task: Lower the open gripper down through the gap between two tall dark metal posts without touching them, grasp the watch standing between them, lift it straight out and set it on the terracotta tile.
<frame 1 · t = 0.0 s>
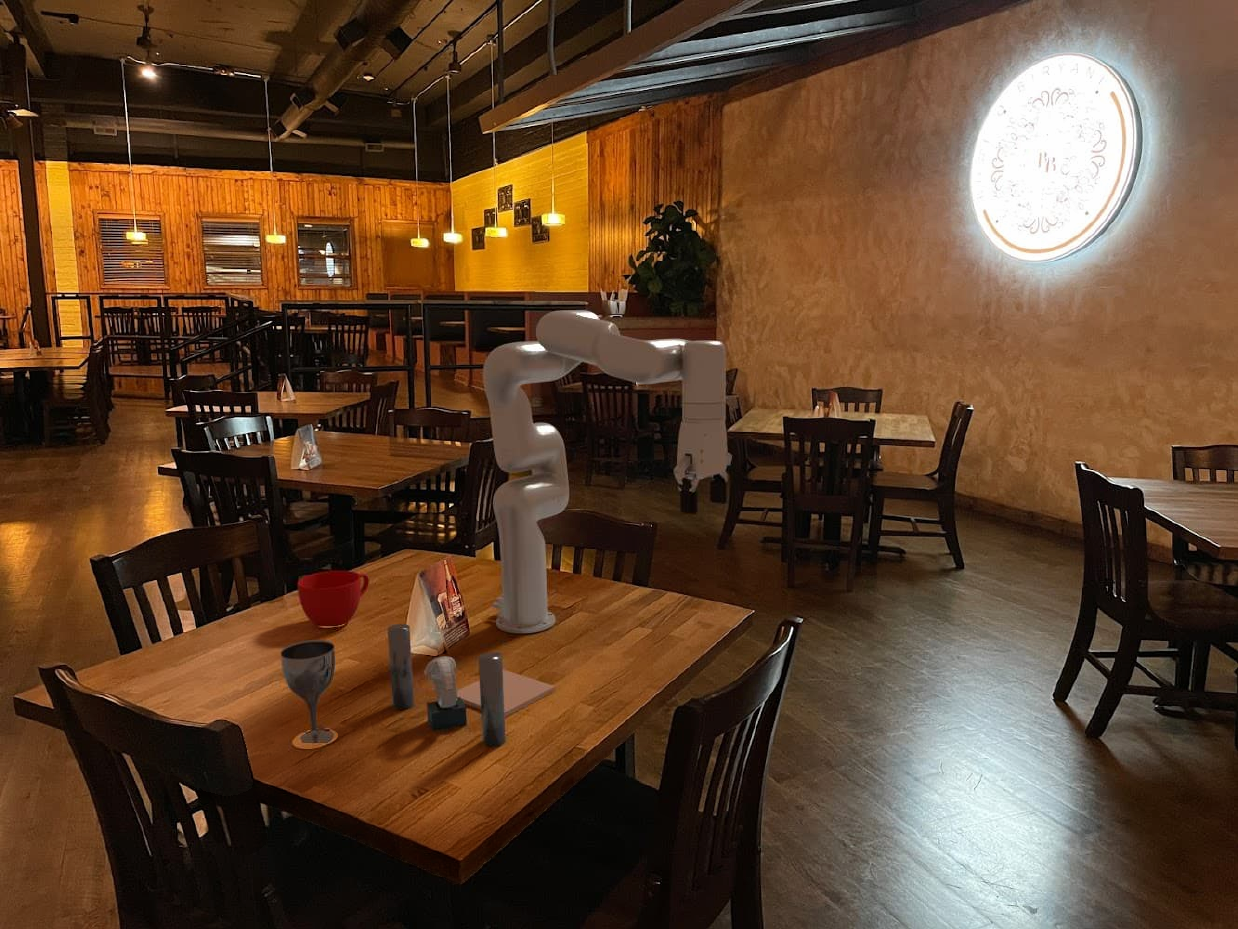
hand: (704, 507, 158), 31 cm above the table, tool pointing down, fingers open, 9 cm apart
ceramic cup: (339, 621, 194), on the table
metal post b: (494, 741, 139), on the table
metal post a: (403, 705, 153), on the table
watch: (446, 723, 146), on the table
terracotta tile: (503, 694, 156), on the table
wine glass: (315, 739, 141), on the table
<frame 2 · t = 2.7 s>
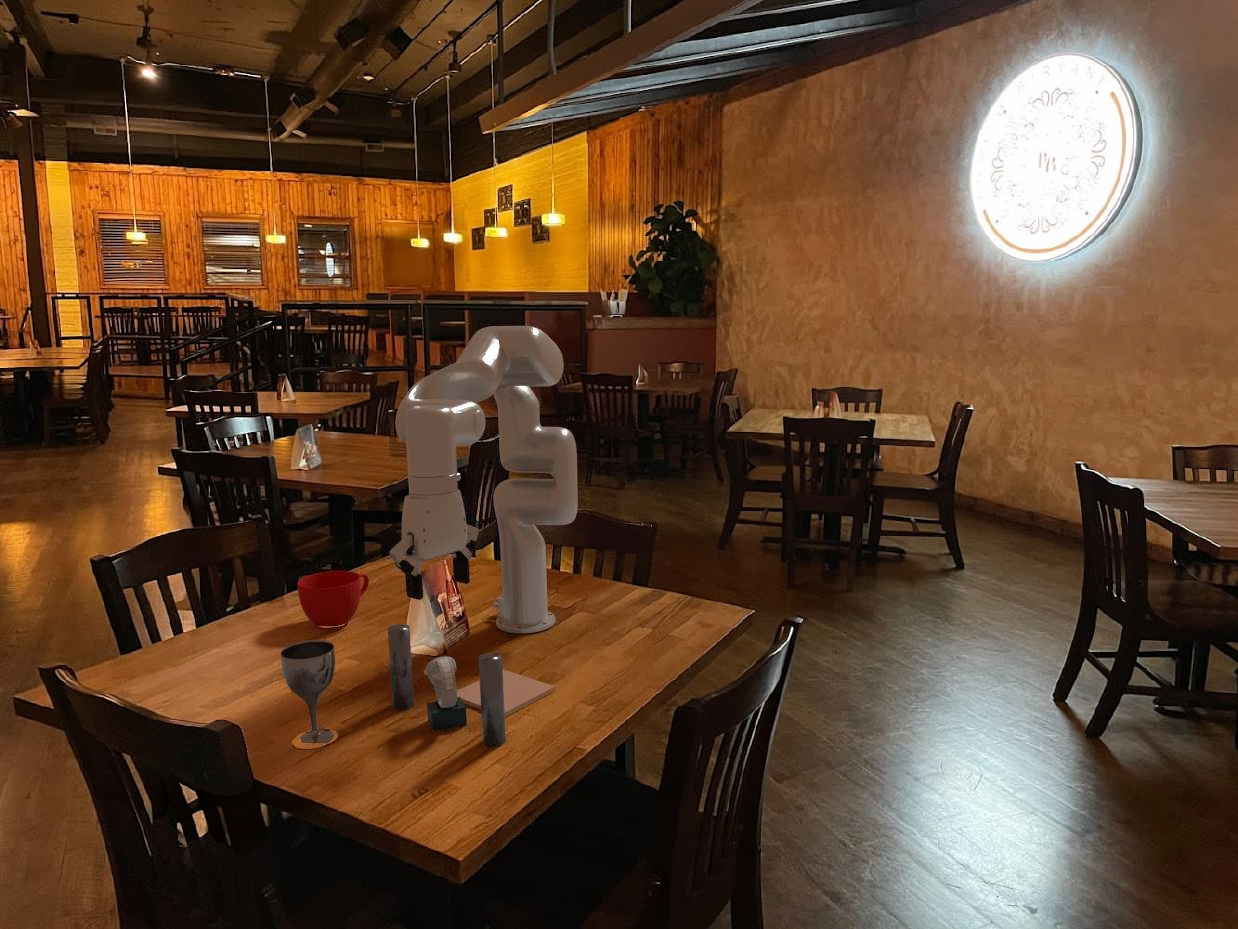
hand: (439, 589, 142), 23 cm above the table, tool pointing down, fingers open, 9 cm apart
nothing on the table moved.
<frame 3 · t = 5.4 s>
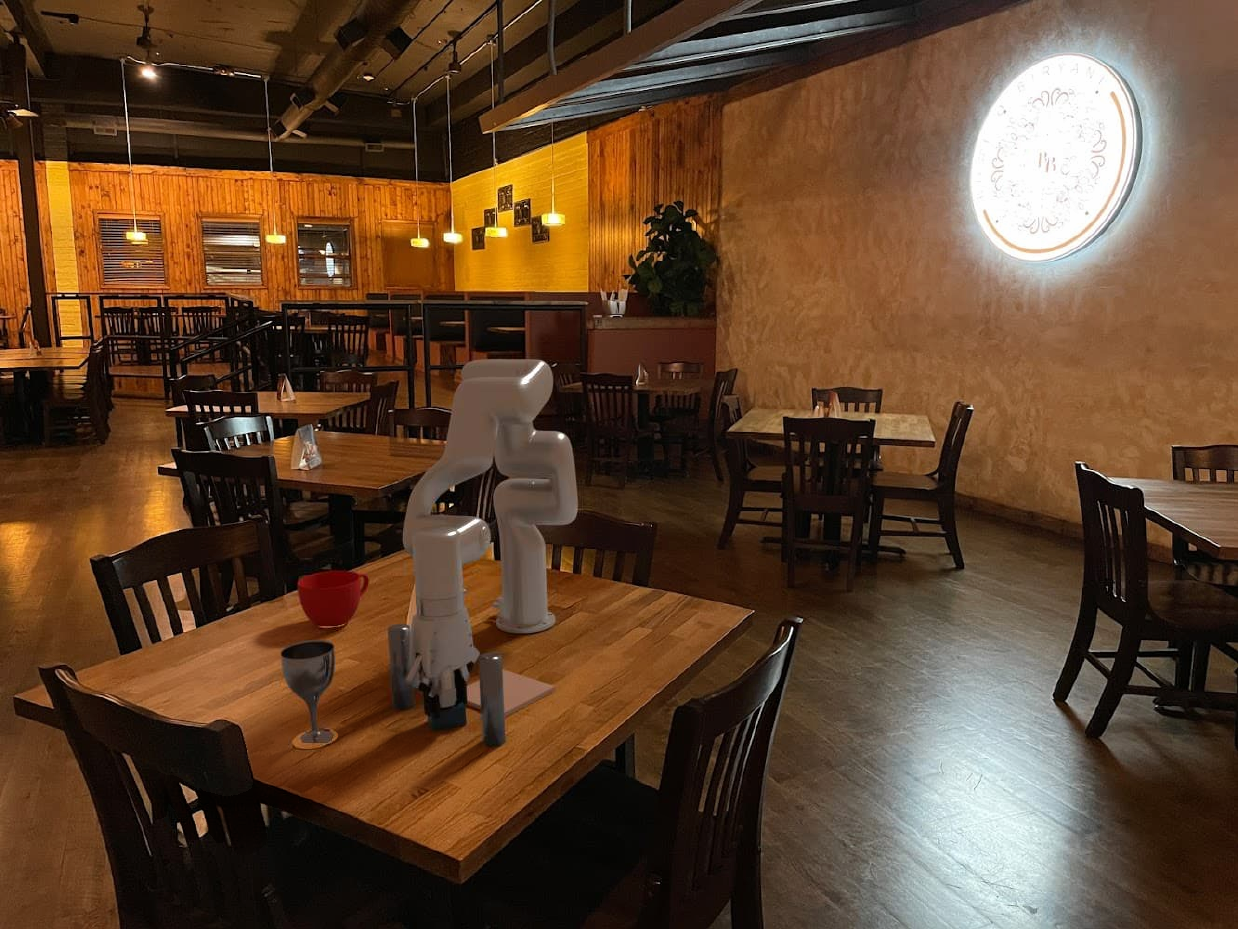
hand: (446, 708, 146), 2 cm above the table, tool pointing down, fingers open, 5 cm apart
watch: (446, 723, 146), on the table, touching gripper
everything else where it was.
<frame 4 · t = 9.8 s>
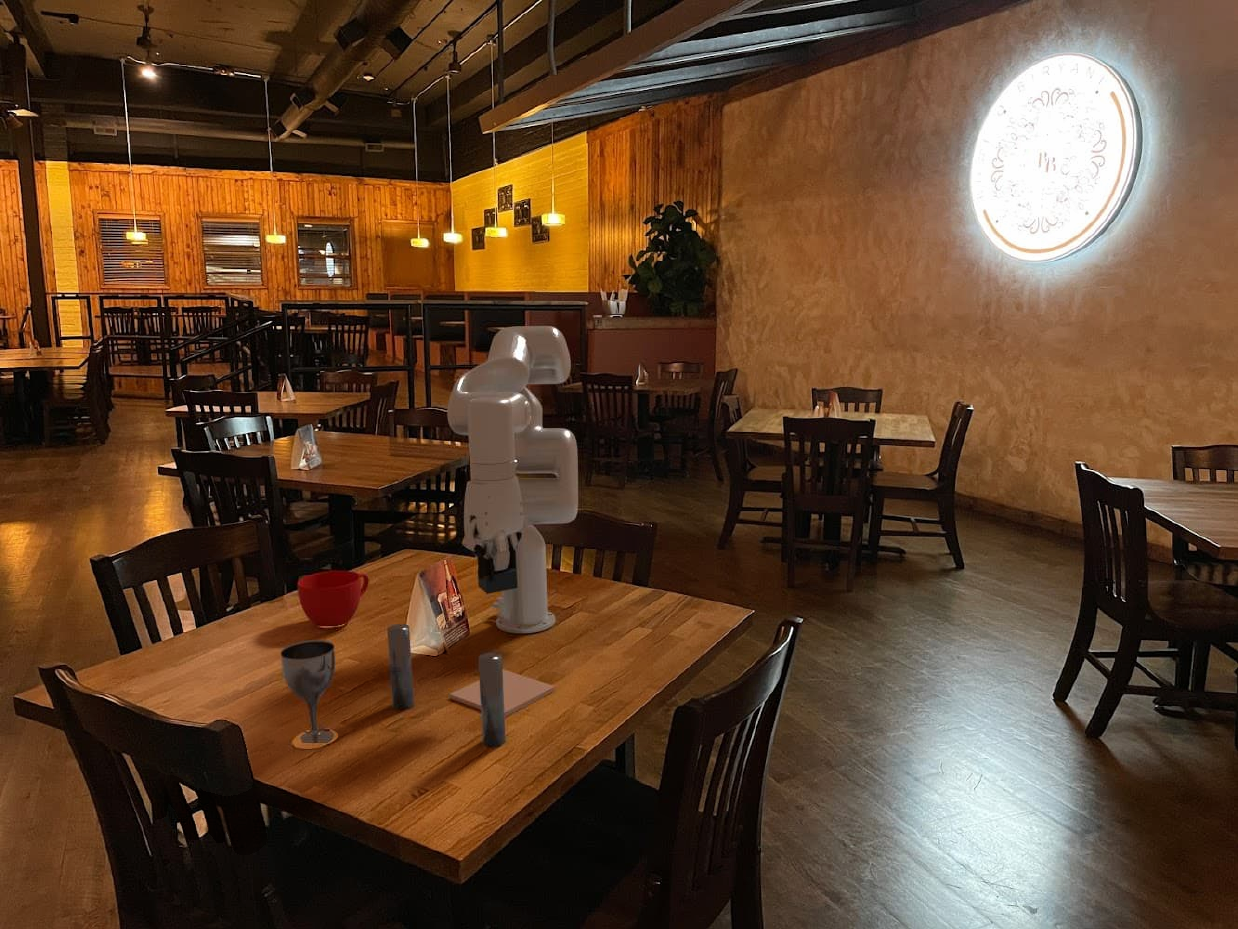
hand: (497, 574, 152), 22 cm above the table, tool pointing down, fingers closed on watch, 4 cm apart
watch: (497, 588, 153), point 19 cm above the table, touching gripper
everything else where it was.
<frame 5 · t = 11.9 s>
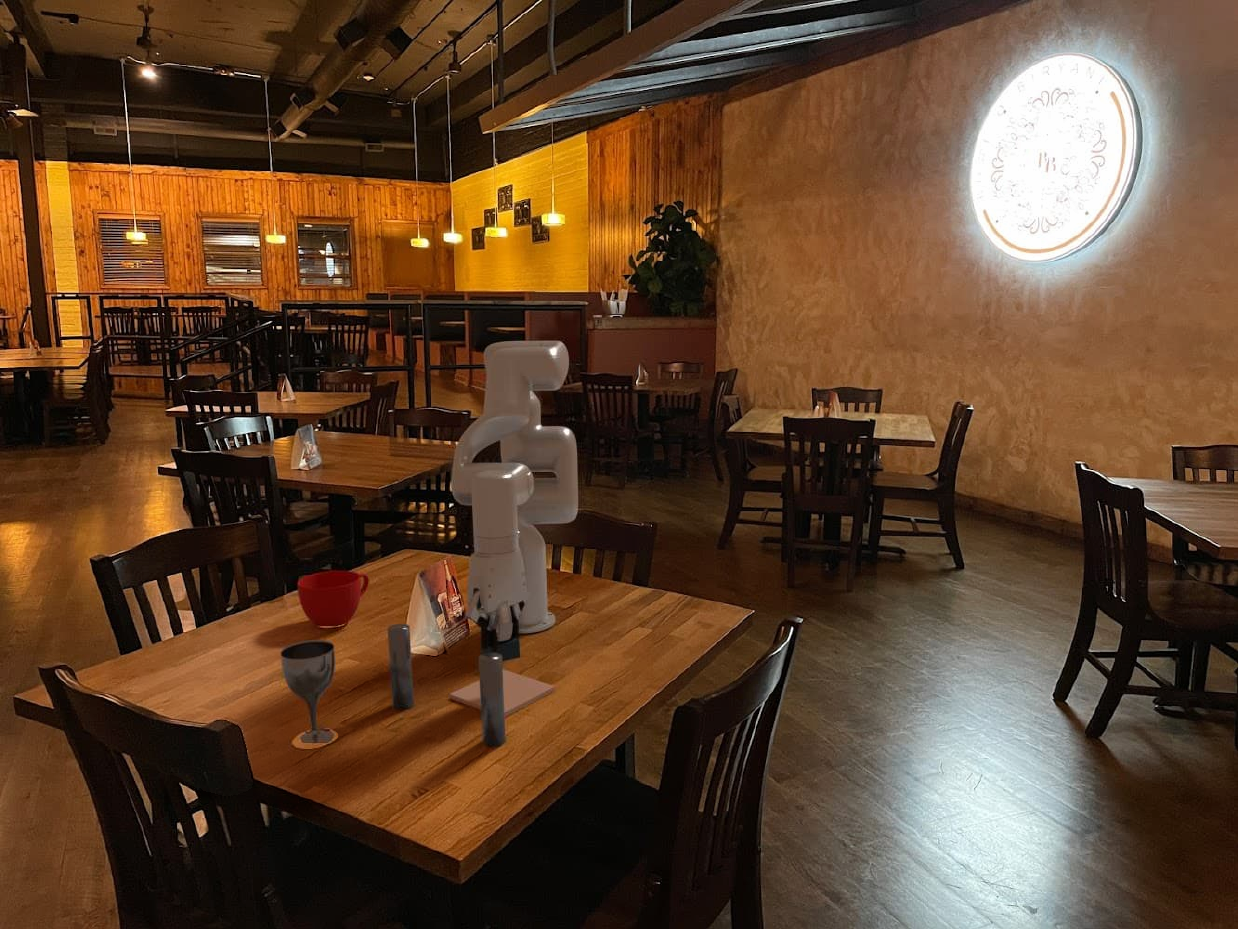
hand: (500, 644, 154), 9 cm above the table, tool pointing down, fingers closed on watch, 4 cm apart
watch: (500, 657, 155), point 7 cm above the table, touching gripper
everything else where it was.
when the fingers open (5 cm above the table, at t = 13.7 s): watch drops 1 cm, resting on terracotta tile.
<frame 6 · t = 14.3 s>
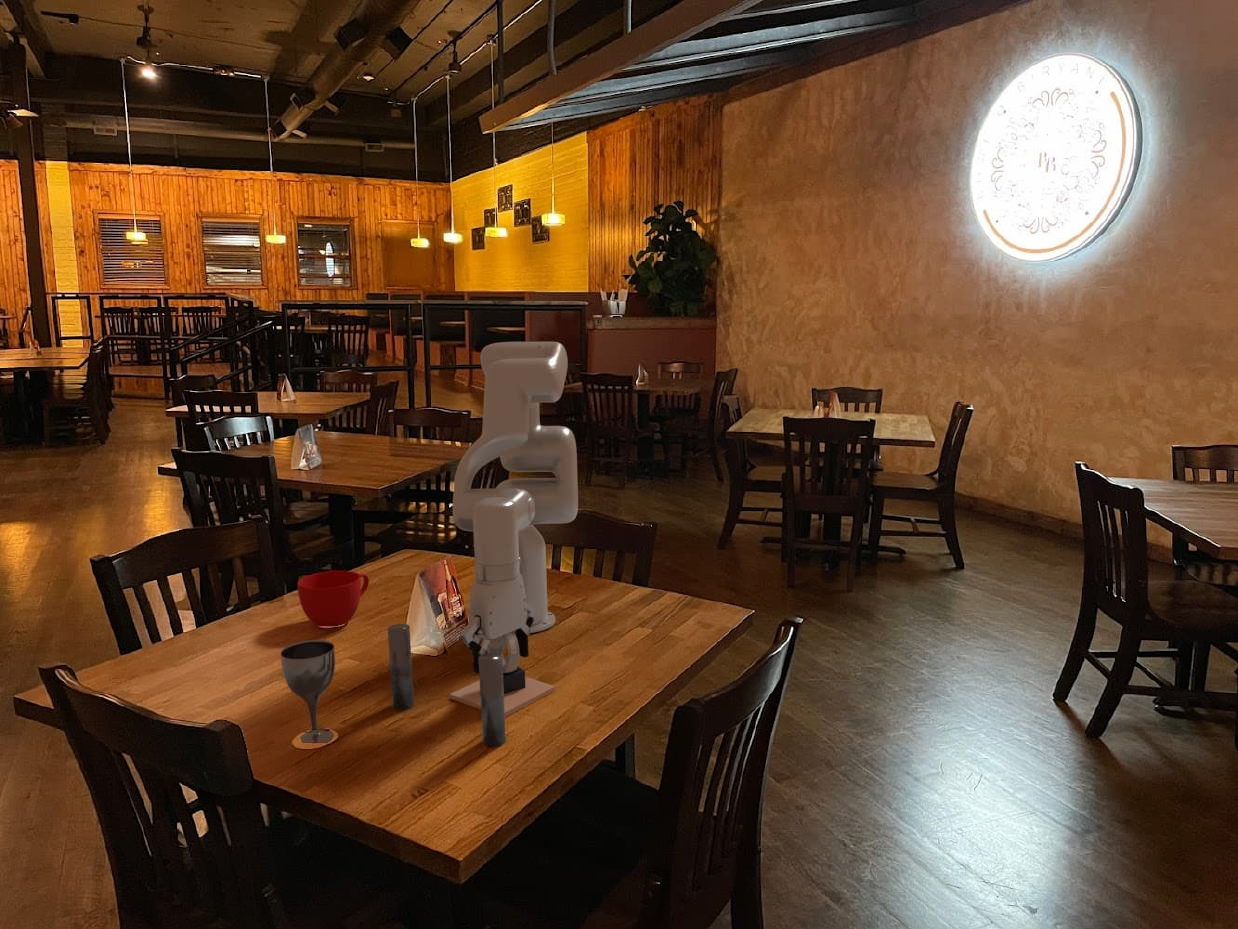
hand: (501, 664, 155), 6 cm above the table, tool pointing down, fingers open, 9 cm apart
watch: (505, 688, 157), point 1 cm above the table, touching terracotta tile
everything else where it was.
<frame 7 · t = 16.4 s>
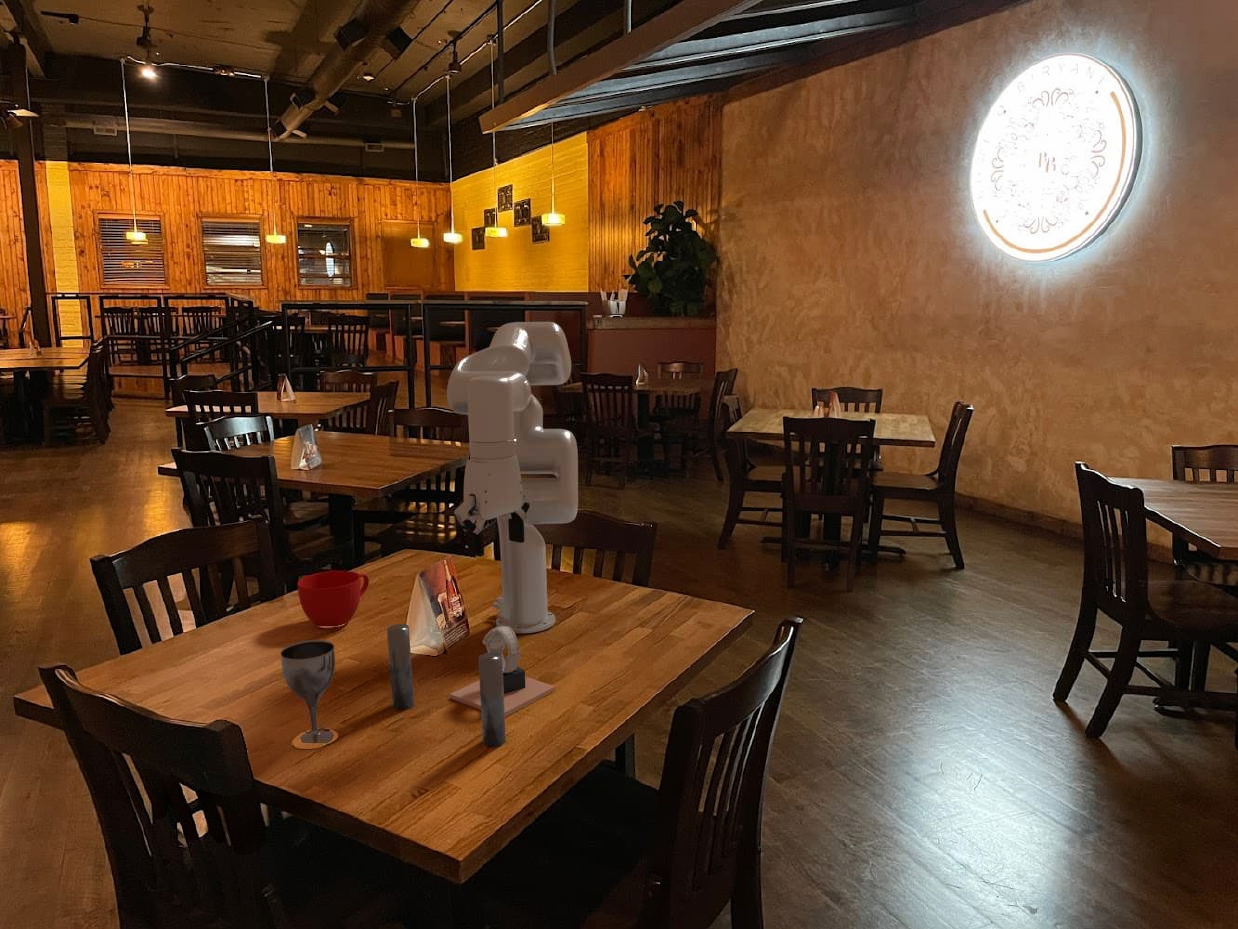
hand: (497, 548, 152), 26 cm above the table, tool pointing down, fingers open, 9 cm apart
nothing on the table moved.
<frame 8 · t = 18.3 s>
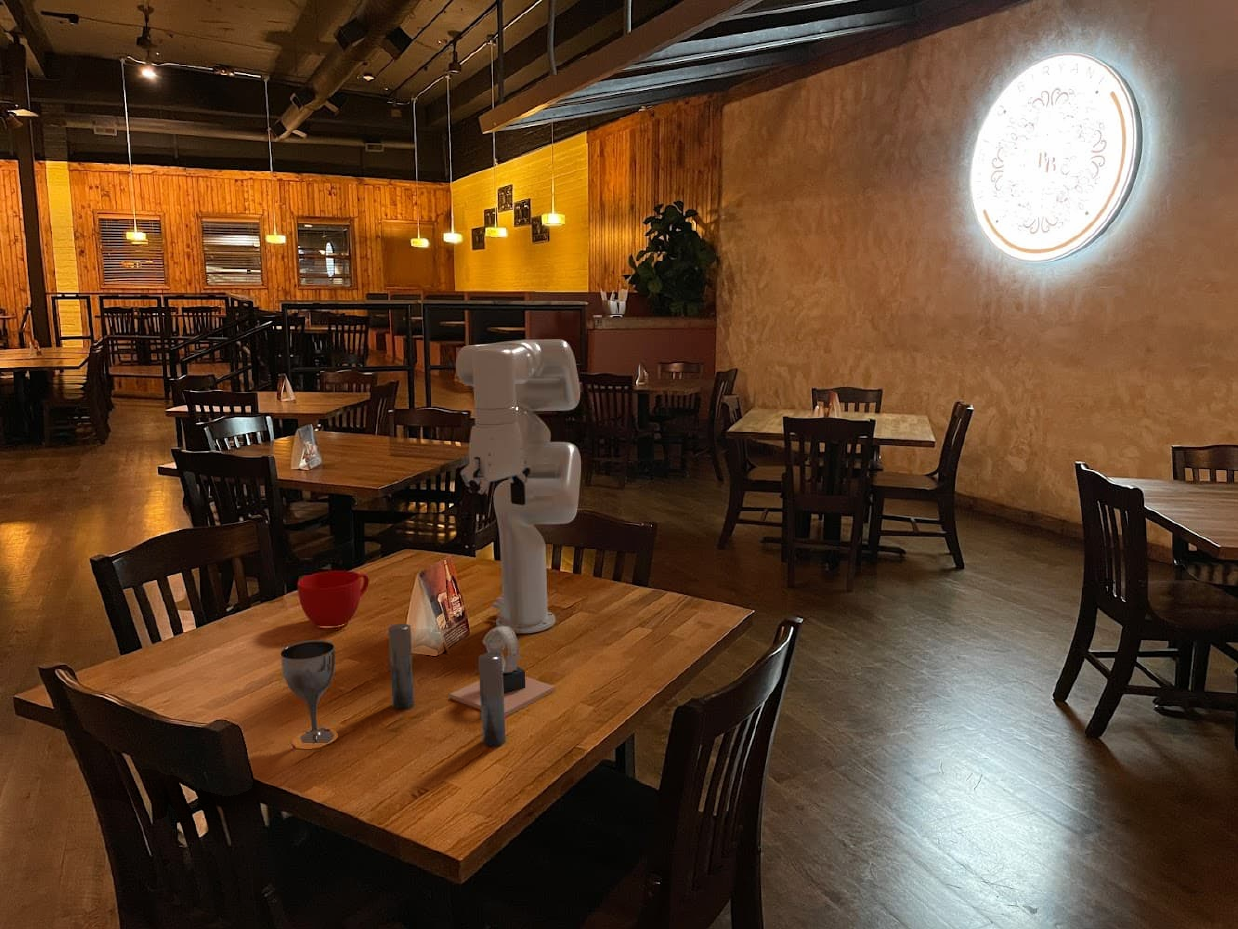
hand: (499, 509, 164), 30 cm above the table, tool pointing down, fingers open, 9 cm apart
nothing on the table moved.
at the end: watch inside the target area on the terracotta tile (1.2 cm from its centre), point 0.6 cm above the terracotta tile's base; metal post a moved 0.0 cm from its start; metal post b moved 0.0 cm from its start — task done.
